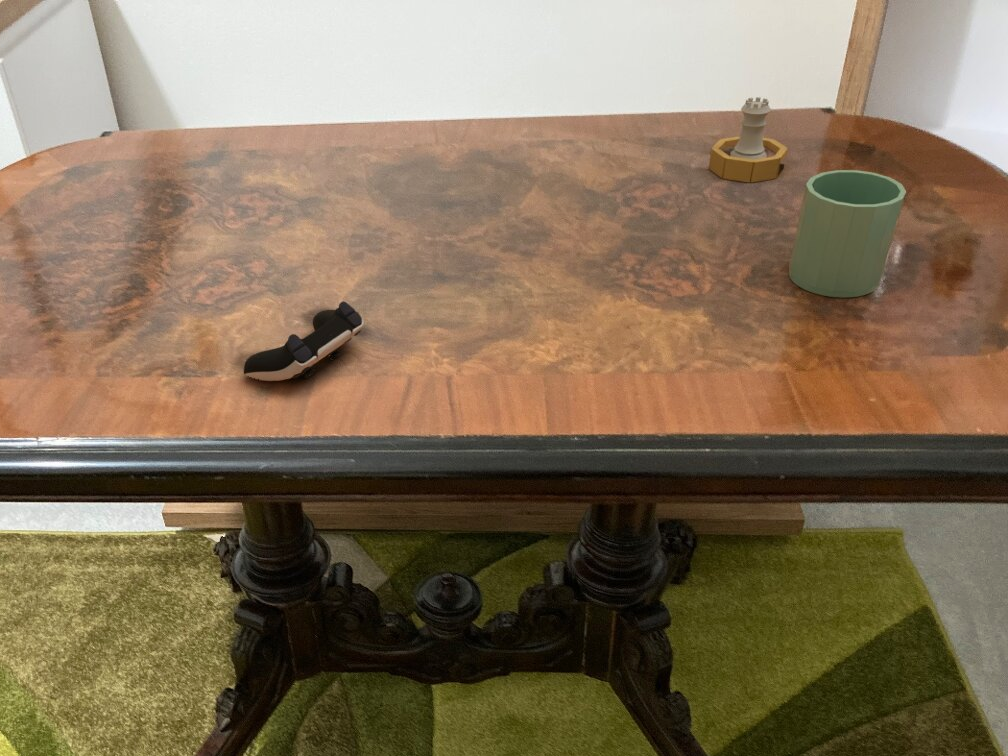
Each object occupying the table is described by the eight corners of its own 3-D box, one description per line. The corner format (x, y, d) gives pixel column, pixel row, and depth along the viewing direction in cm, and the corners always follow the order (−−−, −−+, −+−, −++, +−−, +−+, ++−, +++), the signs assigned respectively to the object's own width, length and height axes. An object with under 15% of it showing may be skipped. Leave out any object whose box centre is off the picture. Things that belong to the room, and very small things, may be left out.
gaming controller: (266, 408, 81) (299, 380, 76) (235, 368, 81) (266, 336, 75) (346, 352, 88) (382, 322, 82) (317, 314, 87) (352, 281, 82)
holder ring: (789, 161, 111) (793, 141, 109) (771, 186, 106) (774, 165, 104) (722, 152, 114) (725, 132, 113) (702, 175, 109) (705, 155, 108)
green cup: (887, 267, 89) (913, 177, 84) (870, 305, 84) (896, 212, 79) (800, 251, 93) (818, 164, 87) (778, 286, 88) (796, 197, 82)
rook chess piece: (737, 178, 108) (748, 109, 103) (719, 164, 112) (729, 97, 107) (772, 172, 109) (785, 104, 104) (754, 159, 112) (765, 92, 107)
